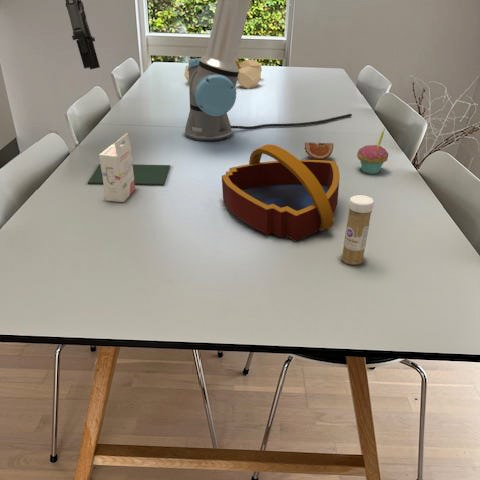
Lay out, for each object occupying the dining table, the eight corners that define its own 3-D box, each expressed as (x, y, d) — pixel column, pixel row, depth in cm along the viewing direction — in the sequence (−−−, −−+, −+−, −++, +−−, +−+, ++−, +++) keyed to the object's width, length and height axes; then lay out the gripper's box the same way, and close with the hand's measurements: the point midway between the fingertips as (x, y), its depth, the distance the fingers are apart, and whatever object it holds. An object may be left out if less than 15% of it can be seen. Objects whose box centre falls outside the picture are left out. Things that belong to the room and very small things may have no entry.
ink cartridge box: (117, 188, 140) (110, 130, 131) (135, 189, 139) (129, 132, 130) (104, 201, 133) (96, 141, 124) (123, 203, 132) (116, 143, 124)
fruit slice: (303, 162, 158) (304, 145, 155) (303, 154, 163) (305, 138, 160) (331, 163, 157) (333, 146, 154) (331, 156, 162) (333, 139, 160)
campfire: (262, 92, 226) (264, 47, 216) (182, 90, 226) (180, 45, 216) (260, 74, 255) (262, 33, 245) (189, 72, 255) (188, 32, 245)
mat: (170, 166, 153) (169, 165, 153) (163, 185, 142) (163, 183, 141) (100, 165, 153) (99, 163, 153) (88, 184, 142) (87, 182, 141)
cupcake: (386, 167, 155) (394, 125, 148) (383, 178, 148) (391, 134, 141) (357, 164, 157) (363, 122, 150) (352, 173, 151) (358, 130, 144)
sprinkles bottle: (337, 260, 110) (345, 199, 103) (348, 252, 113) (357, 192, 105) (356, 268, 108) (366, 205, 100) (367, 259, 111) (378, 198, 103)
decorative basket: (207, 198, 140) (197, 143, 131) (305, 168, 147) (302, 113, 138) (262, 260, 116) (256, 197, 106) (377, 220, 123) (380, 157, 113)
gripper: (59, -14, 145) (84, 71, 154) (41, -31, 122) (72, 70, 131) (86, -20, 145) (109, 66, 154) (74, -38, 123) (102, 63, 132)
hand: (92, 68), depth 143 cm, fingers open, 13 cm apart
